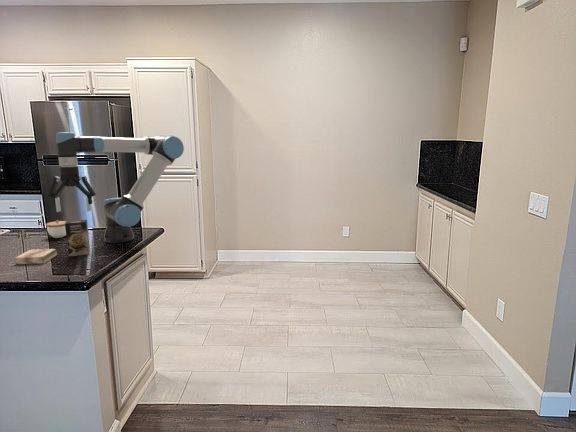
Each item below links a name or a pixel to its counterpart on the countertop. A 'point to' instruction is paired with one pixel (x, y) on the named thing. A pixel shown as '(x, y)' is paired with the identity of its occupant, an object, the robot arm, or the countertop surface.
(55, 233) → the lidded jar
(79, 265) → the countertop surface
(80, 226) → the coffee box
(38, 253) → the base block
